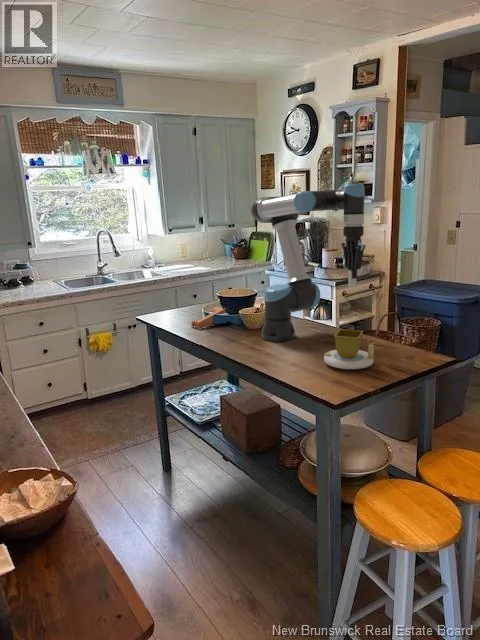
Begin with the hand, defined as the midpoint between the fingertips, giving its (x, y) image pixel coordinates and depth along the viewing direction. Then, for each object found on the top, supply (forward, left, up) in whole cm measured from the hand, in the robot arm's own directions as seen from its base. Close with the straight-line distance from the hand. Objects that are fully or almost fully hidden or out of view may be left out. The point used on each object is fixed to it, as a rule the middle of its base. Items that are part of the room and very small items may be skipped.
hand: (352, 286), depth 188 cm
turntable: (+14, -10, -25) cm, 30 cm away
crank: (-66, -40, -27) cm, 82 cm away
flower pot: (+14, -10, -24) cm, 29 cm away
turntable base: (+14, -10, -26) cm, 32 cm away
